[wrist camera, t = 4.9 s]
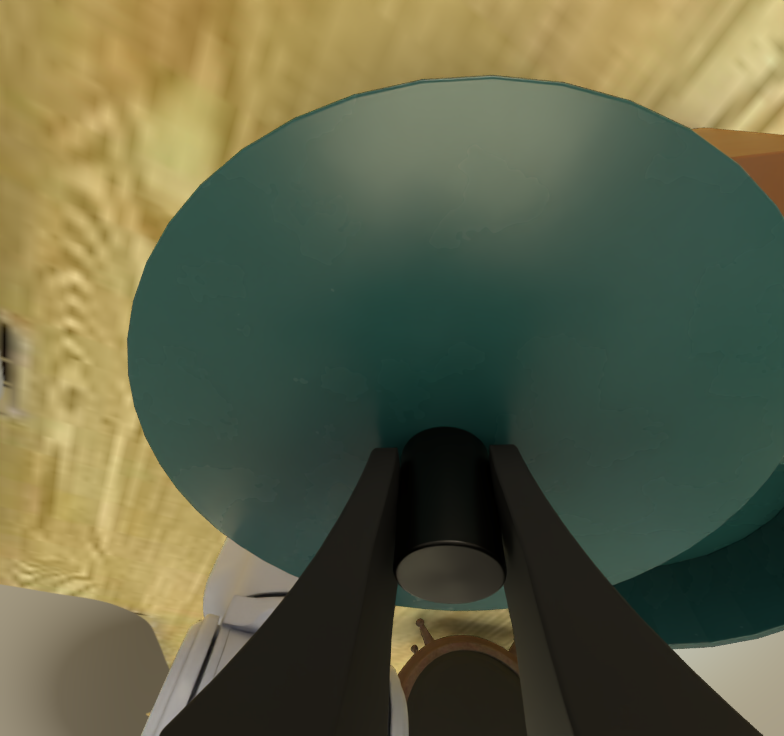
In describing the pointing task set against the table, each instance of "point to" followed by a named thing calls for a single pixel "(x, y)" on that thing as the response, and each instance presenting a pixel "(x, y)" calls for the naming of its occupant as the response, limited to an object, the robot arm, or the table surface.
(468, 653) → the alarm clock
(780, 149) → the tall brown block
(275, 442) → the lid
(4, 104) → the table surface
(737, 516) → the pot
